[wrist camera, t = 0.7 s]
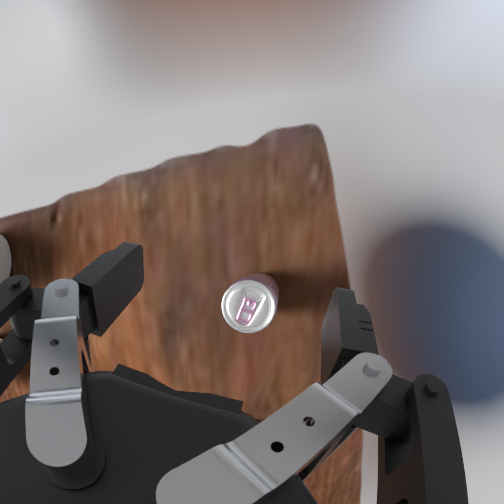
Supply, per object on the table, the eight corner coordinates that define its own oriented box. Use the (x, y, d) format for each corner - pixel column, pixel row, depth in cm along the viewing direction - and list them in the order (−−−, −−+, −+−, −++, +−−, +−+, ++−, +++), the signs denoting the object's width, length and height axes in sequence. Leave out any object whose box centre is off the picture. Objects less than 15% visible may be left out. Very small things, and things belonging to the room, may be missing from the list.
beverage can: (233, 303, 47) (211, 322, 32) (247, 266, 47) (231, 269, 32) (270, 317, 47) (264, 343, 32) (284, 281, 47) (285, 290, 32)
